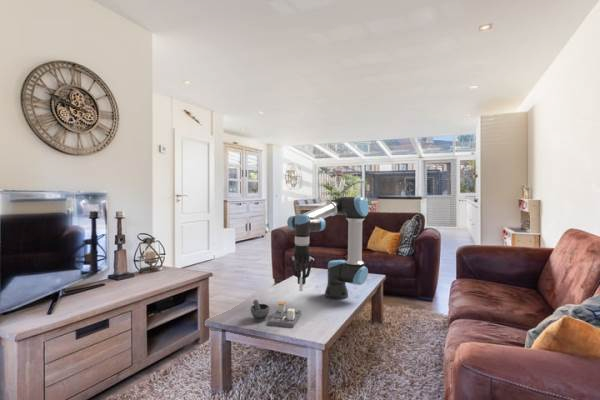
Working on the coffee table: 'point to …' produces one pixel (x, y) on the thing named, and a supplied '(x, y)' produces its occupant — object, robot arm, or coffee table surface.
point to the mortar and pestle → (259, 311)
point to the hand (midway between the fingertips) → (301, 290)
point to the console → (284, 319)
